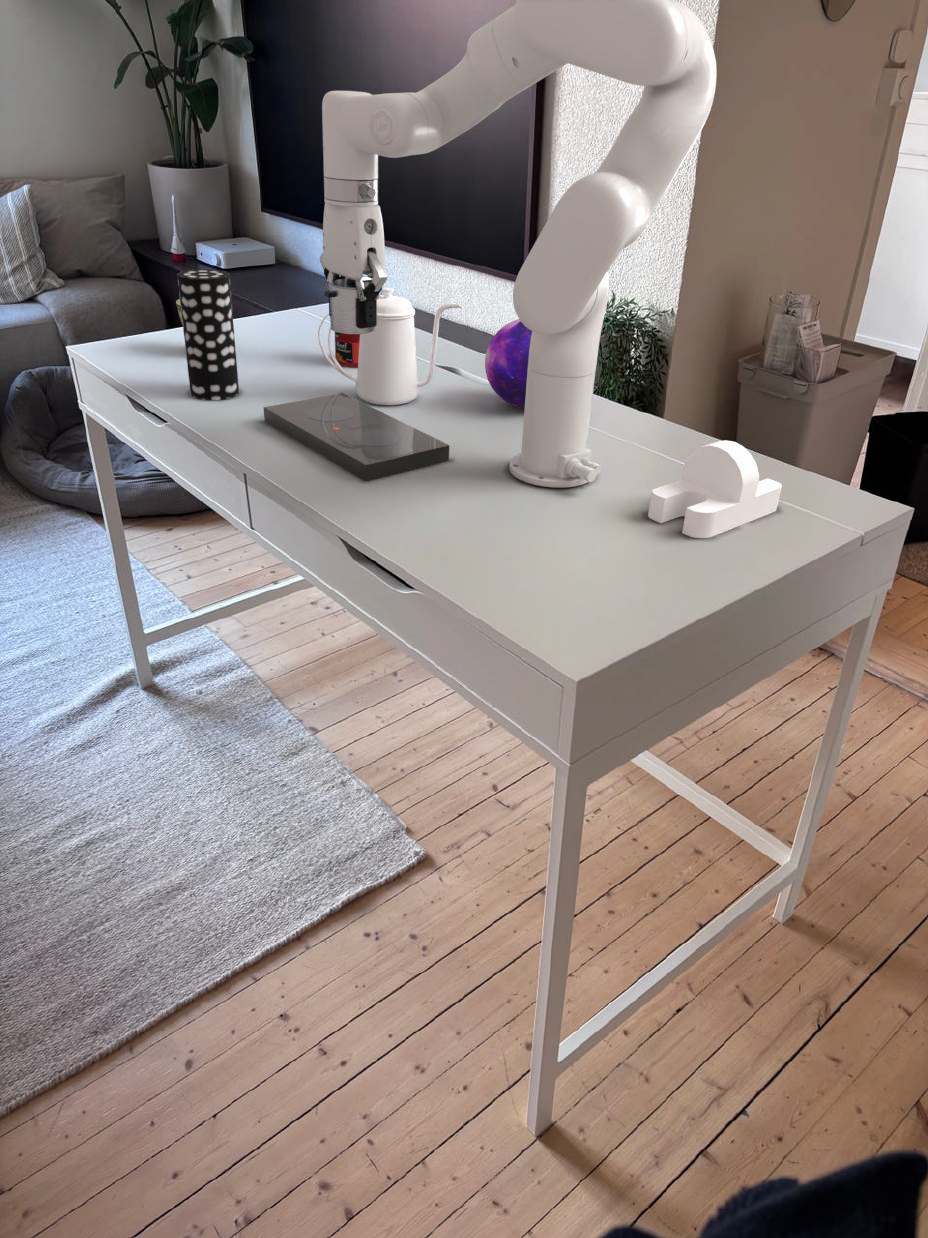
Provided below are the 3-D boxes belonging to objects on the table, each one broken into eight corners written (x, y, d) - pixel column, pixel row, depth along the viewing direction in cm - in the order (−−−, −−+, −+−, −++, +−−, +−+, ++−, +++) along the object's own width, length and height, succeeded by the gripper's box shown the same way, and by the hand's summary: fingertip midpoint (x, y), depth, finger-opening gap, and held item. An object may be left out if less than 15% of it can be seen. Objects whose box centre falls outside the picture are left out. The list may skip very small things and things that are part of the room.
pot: (389, 330, 141) (389, 280, 137) (339, 337, 136) (338, 285, 132) (364, 320, 145) (364, 272, 142) (315, 327, 140) (314, 277, 137)
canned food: (330, 358, 186) (328, 301, 181) (368, 355, 189) (367, 299, 184) (342, 369, 180) (341, 310, 175) (381, 365, 183) (381, 308, 178)
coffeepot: (456, 412, 161) (461, 299, 151) (314, 401, 163) (309, 289, 153) (462, 393, 170) (467, 286, 161) (327, 383, 172) (324, 276, 162)
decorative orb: (494, 388, 174) (499, 305, 166) (574, 398, 171) (582, 314, 163) (473, 412, 161) (477, 323, 154) (558, 423, 158) (566, 333, 150)
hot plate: (449, 460, 141) (449, 444, 140) (366, 481, 133) (365, 464, 132) (342, 406, 161) (342, 392, 160) (264, 421, 153) (263, 406, 151)
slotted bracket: (700, 541, 120) (714, 469, 115) (643, 515, 127) (654, 446, 122) (780, 509, 131) (796, 442, 126) (724, 486, 137) (737, 422, 132)
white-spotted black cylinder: (191, 401, 160) (177, 279, 150) (189, 386, 167) (176, 269, 157) (240, 399, 162) (230, 278, 152) (237, 384, 169) (227, 268, 159)
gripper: (409, 198, 128) (407, 331, 137) (339, 183, 139) (342, 307, 148) (363, 201, 123) (364, 338, 132) (295, 184, 134) (300, 312, 144)
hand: (352, 320), depth 140 cm, fingers closed on pot, 6 cm apart
